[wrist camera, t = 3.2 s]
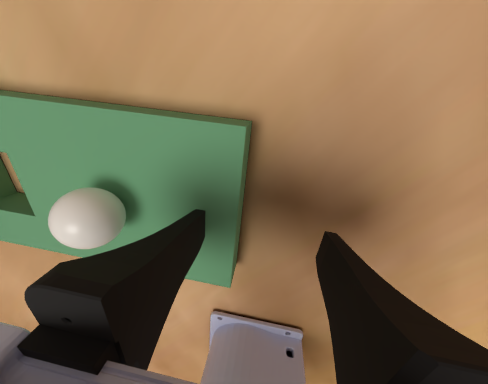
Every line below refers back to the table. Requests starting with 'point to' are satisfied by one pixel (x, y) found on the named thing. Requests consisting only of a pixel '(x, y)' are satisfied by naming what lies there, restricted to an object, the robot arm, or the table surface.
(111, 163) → the green board
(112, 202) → the ball
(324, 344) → the table surface
